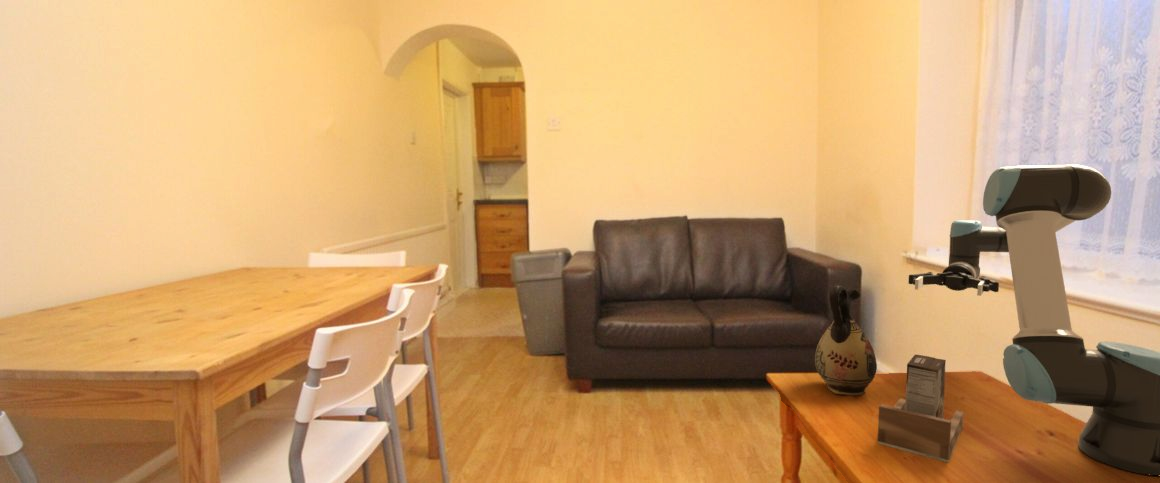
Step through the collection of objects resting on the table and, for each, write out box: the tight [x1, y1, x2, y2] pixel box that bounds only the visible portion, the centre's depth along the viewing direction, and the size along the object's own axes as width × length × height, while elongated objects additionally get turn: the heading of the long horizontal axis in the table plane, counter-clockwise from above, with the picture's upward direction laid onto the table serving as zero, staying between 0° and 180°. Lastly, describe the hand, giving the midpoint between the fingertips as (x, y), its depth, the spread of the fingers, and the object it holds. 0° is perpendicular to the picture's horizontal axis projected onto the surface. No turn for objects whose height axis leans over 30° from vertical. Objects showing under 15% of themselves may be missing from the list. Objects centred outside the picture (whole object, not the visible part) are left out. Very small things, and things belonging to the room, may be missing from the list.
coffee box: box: [905, 354, 946, 419], centre depth 122 cm, size 9×6×16 cm
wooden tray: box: [877, 398, 964, 463], centre depth 121 cm, size 22×13×8 cm, turn 138°
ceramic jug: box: [814, 284, 878, 397], centre depth 146 cm, size 17×15×30 cm
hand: (946, 287), depth 138 cm, fingers open, 13 cm apart
